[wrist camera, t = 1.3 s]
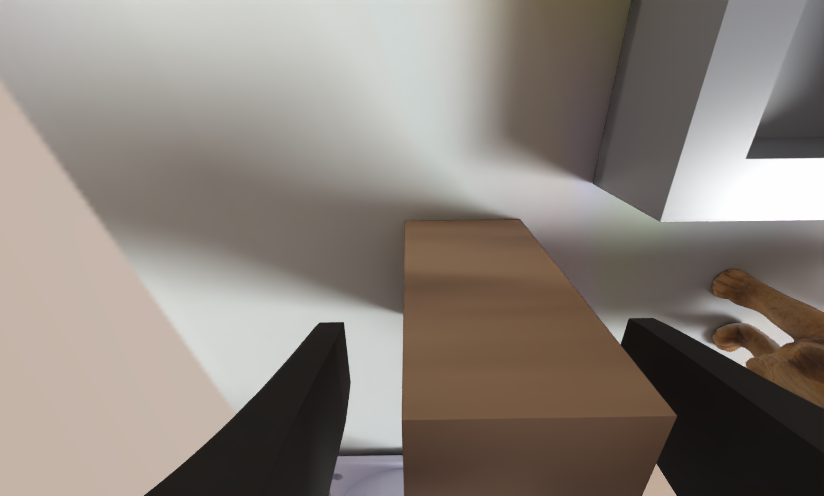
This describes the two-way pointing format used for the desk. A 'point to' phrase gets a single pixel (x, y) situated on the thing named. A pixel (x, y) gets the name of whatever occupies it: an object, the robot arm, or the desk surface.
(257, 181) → the desk surface
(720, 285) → the lion figurine
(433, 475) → the walnut block
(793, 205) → the square well
